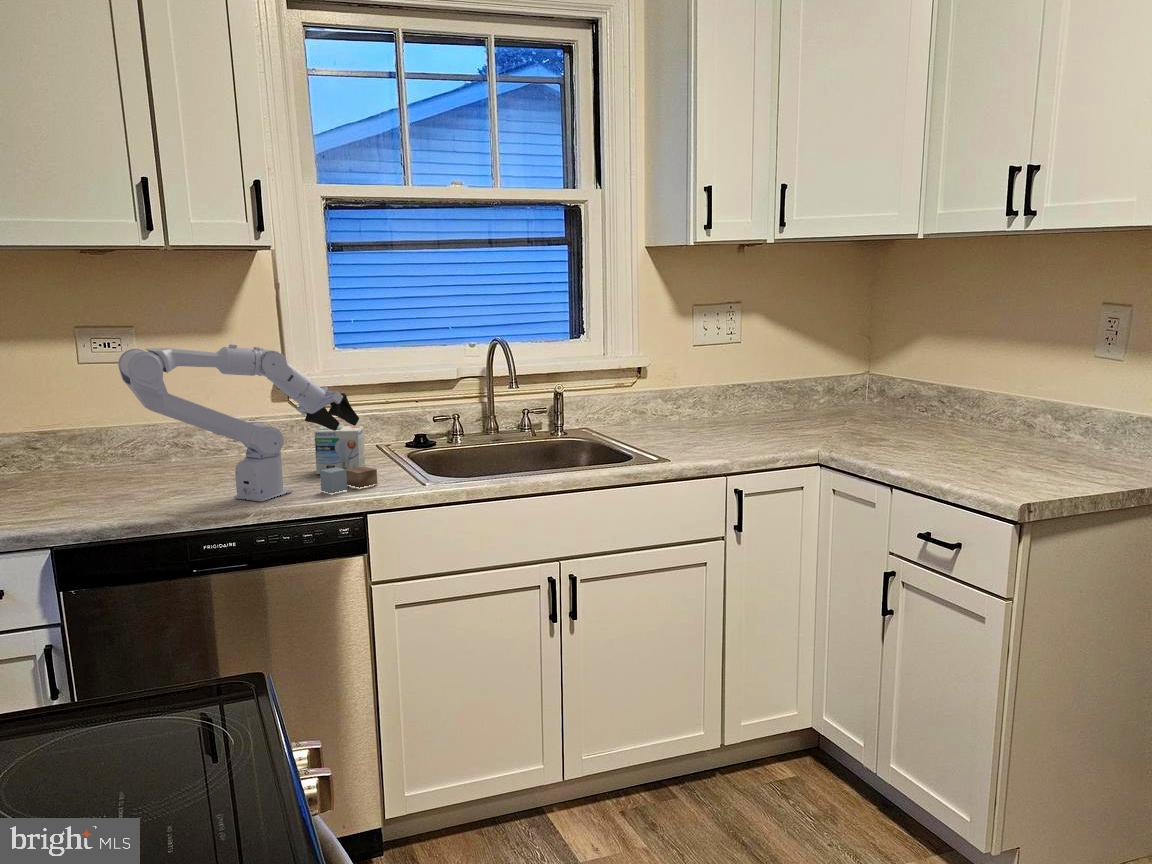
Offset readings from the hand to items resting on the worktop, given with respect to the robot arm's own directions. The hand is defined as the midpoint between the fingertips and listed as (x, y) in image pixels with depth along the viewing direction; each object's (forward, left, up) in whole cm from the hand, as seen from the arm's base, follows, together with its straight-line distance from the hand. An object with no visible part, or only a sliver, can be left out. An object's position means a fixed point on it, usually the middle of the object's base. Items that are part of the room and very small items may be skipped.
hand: (346, 424), depth 204 cm
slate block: (-9, -3, -14) cm, 17 cm away
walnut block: (-2, -5, -14) cm, 15 cm away
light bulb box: (+8, +9, -14) cm, 18 cm away
